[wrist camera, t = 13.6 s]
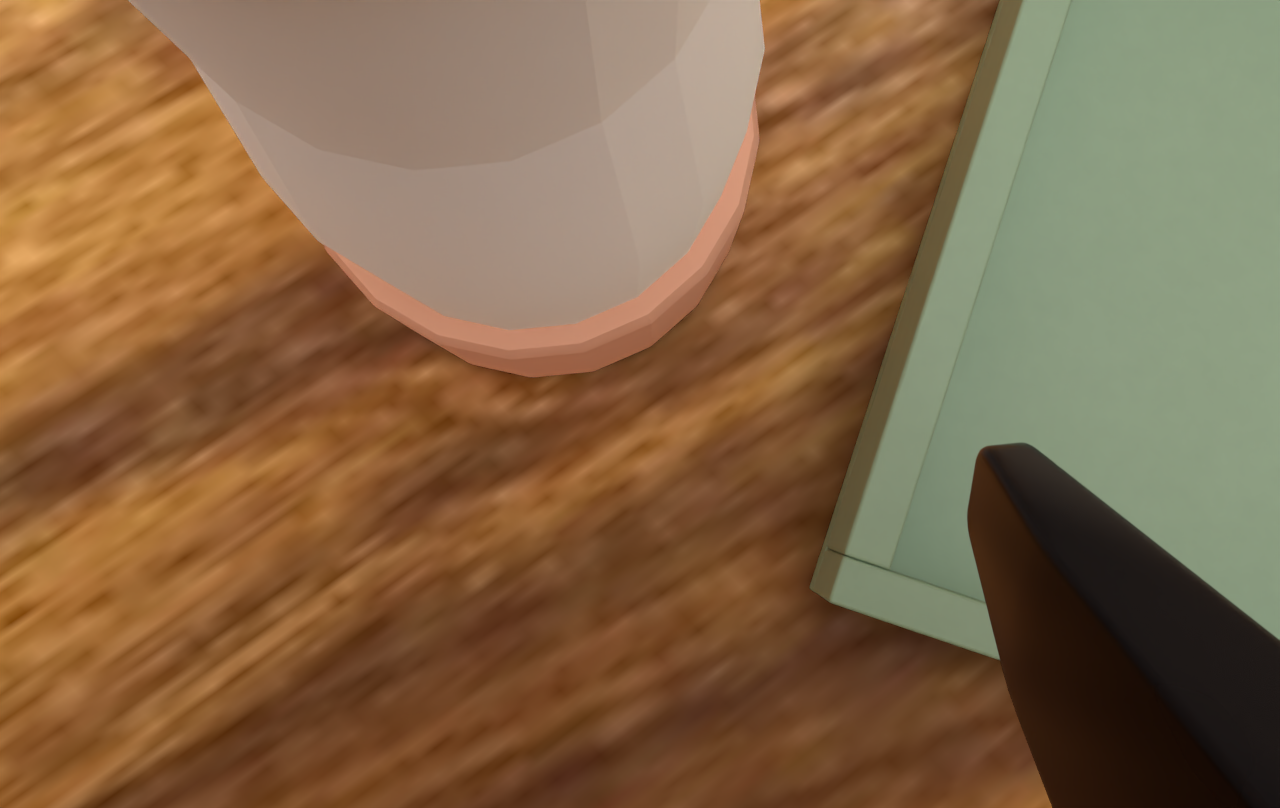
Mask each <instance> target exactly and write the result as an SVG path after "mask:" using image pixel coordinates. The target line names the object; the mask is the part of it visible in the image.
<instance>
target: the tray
mask: <svg viewBox="0 0 1280 808" xmlns="http://www.w3.org/2000/svg"><path fill="white" fill-rule="evenodd" d="M1019 442H1023V443H1028V444H1030V445H1032V446H1034V447H1035V448H1037V449H1038V450H1039V451H1040V452H1042V453H1043V454H1044V455H1045V456H1047V457H1048V458H1049V459H1051V460H1052V461H1053V462H1054V463H1056V464H1057V465H1058V466H1059V467H1061V468H1062V469H1063V470H1065V471H1066V472H1067V473H1068V474H1070V475H1071V476H1072V477H1073V478H1075V479H1076V480H1077V481H1078V482H1080V483H1081V484H1082V485H1084V486H1085V487H1086V488H1087V489H1089V490H1090V491H1091V492H1092V493H1094V494H1095V495H1096V496H1098V497H1099V498H1100V499H1101V500H1103V501H1104V502H1105V503H1106V504H1108V505H1109V506H1110V507H1112V508H1113V509H1114V510H1115V511H1117V512H1118V513H1119V514H1120V515H1122V516H1123V517H1124V518H1125V519H1127V520H1128V521H1129V522H1131V523H1132V524H1133V525H1134V526H1136V527H1137V528H1138V529H1139V530H1141V531H1142V532H1143V533H1145V534H1146V535H1147V536H1148V537H1150V538H1151V539H1152V540H1153V541H1155V542H1156V543H1157V544H1158V545H1160V546H1161V547H1162V548H1164V549H1165V550H1166V551H1167V552H1169V553H1170V554H1171V555H1172V556H1174V557H1175V558H1176V559H1178V560H1179V561H1180V562H1181V563H1183V564H1184V565H1185V566H1186V567H1188V568H1189V569H1190V570H1192V571H1193V572H1194V573H1195V574H1197V575H1198V576H1199V577H1200V578H1202V579H1203V580H1204V581H1205V582H1207V583H1208V584H1209V585H1211V586H1212V587H1213V588H1214V589H1216V590H1217V591H1218V592H1219V593H1221V594H1222V595H1223V596H1225V597H1226V598H1227V599H1228V600H1230V601H1231V602H1232V603H1233V604H1235V605H1236V606H1237V607H1238V608H1240V609H1241V610H1242V611H1244V612H1245V613H1246V614H1247V615H1249V616H1250V617H1251V618H1252V619H1254V620H1255V621H1256V622H1258V623H1259V624H1260V625H1261V626H1263V627H1264V628H1265V629H1266V630H1268V631H1269V632H1270V633H1272V634H1273V635H1274V636H1275V637H1277V638H1278V639H1279V640H1280V0H1000V1H999V4H998V7H997V10H996V13H995V16H994V19H993V22H992V25H991V28H990V32H989V35H988V38H987V41H986V44H985V47H984V50H983V53H982V56H981V59H980V62H979V65H978V69H977V72H976V75H975V78H974V81H973V84H972V87H971V90H970V93H969V96H968V99H967V102H966V106H965V109H964V112H963V115H962V118H961V121H960V124H959V127H958V130H957V133H956V136H955V139H954V143H953V146H952V149H951V152H950V155H949V158H948V161H947V164H946V167H945V170H944V173H943V176H942V180H941V183H940V186H939V189H938V192H937V195H936V198H935V201H934V204H933V207H932V210H931V213H930V217H929V220H928V223H927V226H926V229H925V232H924V235H923V238H922V241H921V244H920V247H919V250H918V254H917V257H916V260H915V263H914V266H913V269H912V272H911V275H910V278H909V281H908V284H907V287H906V291H905V294H904V297H903V300H902V303H901V306H900V309H899V312H898V315H897V318H896V321H895V324H894V328H893V331H892V334H891V337H890V340H889V343H888V346H887V349H886V352H885V355H884V358H883V361H882V365H881V368H880V371H879V374H878V377H877V380H876V383H875V386H874V389H873V392H872V395H871V398H870V402H869V405H868V408H867V411H866V414H865V417H864V420H863V423H862V426H861V429H860V432H859V435H858V439H857V442H856V445H855V448H854V451H853V454H852V457H851V460H850V463H849V466H848V469H847V472H846V476H845V479H844V482H843V485H842V488H841V491H840V494H839V497H838V500H837V503H836V506H835V509H834V513H833V516H832V519H831V522H830V525H829V528H828V531H827V534H826V537H825V540H824V543H823V546H822V550H821V553H820V556H819V559H818V562H817V565H816V568H815V571H814V574H813V577H812V580H811V583H810V589H811V590H812V591H814V592H815V593H817V594H818V595H820V596H821V597H823V598H824V599H826V600H827V601H828V602H830V603H831V604H834V605H837V606H840V607H843V608H846V609H849V610H852V611H855V612H858V613H861V614H864V615H867V616H870V617H873V618H876V619H879V620H882V621H885V622H888V623H891V624H893V625H896V626H899V627H902V628H905V629H908V630H911V631H914V632H917V633H920V634H923V635H926V636H929V637H932V638H935V639H938V640H941V641H944V642H947V643H950V644H953V645H956V646H958V647H961V648H964V649H967V650H970V651H973V652H976V653H979V654H982V655H985V656H988V657H991V658H994V659H997V660H1000V658H999V654H998V650H997V646H996V642H995V638H994V634H993V630H992V626H991V622H990V618H989V614H988V610H987V606H986V602H985V598H984V594H983V590H982V586H981V582H980V578H979V574H978V570H977V566H976V562H975V558H974V554H973V550H972V546H971V542H970V538H969V533H968V526H967V510H968V503H969V497H970V492H971V486H972V480H973V474H974V468H975V462H976V457H977V455H978V453H979V451H980V450H981V449H982V448H983V447H986V446H989V445H999V444H1009V443H1019Z"/></svg>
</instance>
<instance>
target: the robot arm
mask: <svg viewBox="0 0 1280 808" xmlns="http://www.w3.org/2000/svg"><path fill="white" fill-rule="evenodd" d="M967 526H968V533H969V538H970V542H971V546H972V550H973V554H974V558H975V562H976V566H977V570H978V574H979V578H980V582H981V586H982V590H983V594H984V598H985V602H986V606H987V610H988V614H989V618H990V622H991V626H992V630H993V634H994V638H995V642H996V646H997V650H998V654H999V658H1000V662H1001V666H1002V669H1003V673H1004V677H1005V680H1006V684H1007V688H1008V691H1009V694H1010V697H1011V699H1012V702H1013V705H1014V708H1015V711H1016V714H1017V716H1018V719H1019V722H1020V724H1021V727H1022V730H1023V732H1024V735H1025V737H1026V740H1027V743H1028V745H1029V748H1030V750H1031V753H1032V756H1033V758H1034V761H1035V763H1036V766H1037V769H1038V771H1039V774H1040V776H1041V779H1042V782H1043V784H1044V787H1045V790H1046V792H1047V795H1048V797H1049V800H1050V803H1051V805H1052V808H1280V640H1279V639H1278V638H1277V637H1275V636H1274V635H1273V634H1272V633H1270V632H1269V631H1268V630H1266V629H1265V628H1264V627H1263V626H1261V625H1260V624H1259V623H1258V622H1256V621H1255V620H1254V619H1252V618H1251V617H1250V616H1249V615H1247V614H1246V613H1245V612H1244V611H1242V610H1241V609H1240V608H1238V607H1237V606H1236V605H1235V604H1233V603H1232V602H1231V601H1230V600H1228V599H1227V598H1226V597H1225V596H1223V595H1222V594H1221V593H1219V592H1218V591H1217V590H1216V589H1214V588H1213V587H1212V586H1211V585H1209V584H1208V583H1207V582H1205V581H1204V580H1203V579H1202V578H1200V577H1199V576H1198V575H1197V574H1195V573H1194V572H1193V571H1192V570H1190V569H1189V568H1188V567H1186V566H1185V565H1184V564H1183V563H1181V562H1180V561H1179V560H1178V559H1176V558H1175V557H1174V556H1172V555H1171V554H1170V553H1169V552H1167V551H1166V550H1165V549H1164V548H1162V547H1161V546H1160V545H1158V544H1157V543H1156V542H1155V541H1153V540H1152V539H1151V538H1150V537H1148V536H1147V535H1146V534H1145V533H1143V532H1142V531H1141V530H1139V529H1138V528H1137V527H1136V526H1134V525H1133V524H1132V523H1131V522H1129V521H1128V520H1127V519H1125V518H1124V517H1123V516H1122V515H1120V514H1119V513H1118V512H1117V511H1115V510H1114V509H1113V508H1112V507H1110V506H1109V505H1108V504H1106V503H1105V502H1104V501H1103V500H1101V499H1100V498H1099V497H1098V496H1096V495H1095V494H1094V493H1092V492H1091V491H1090V490H1089V489H1087V488H1086V487H1085V486H1084V485H1082V484H1081V483H1080V482H1078V481H1077V480H1076V479H1075V478H1073V477H1072V476H1071V475H1070V474H1068V473H1067V472H1066V471H1065V470H1063V469H1062V468H1061V467H1059V466H1058V465H1057V464H1056V463H1054V462H1053V461H1052V460H1051V459H1049V458H1048V457H1047V456H1045V455H1044V454H1043V453H1042V452H1040V451H1039V450H1038V449H1037V448H1035V447H1034V446H1032V445H1030V444H1028V443H1023V442H1019V443H1009V444H999V445H989V446H986V447H983V448H982V449H981V450H980V451H979V453H978V455H977V457H976V462H975V468H974V474H973V480H972V486H971V492H970V497H969V503H968V510H967Z"/></svg>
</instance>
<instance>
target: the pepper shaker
mask: <svg viewBox="0 0 1280 808" xmlns="http://www.w3.org/2000/svg"><path fill="white" fill-rule="evenodd" d="M128 1H129V2H130V3H131V4H132V5H133V6H135V7H136V8H137V9H138V10H139V11H140V12H141V13H142V14H143V15H144V16H145V17H146V18H147V19H148V20H149V21H151V22H152V23H153V24H154V25H155V26H156V27H157V28H158V29H159V30H160V31H161V32H162V33H163V34H164V35H165V36H166V37H168V38H169V39H170V40H171V41H172V42H173V43H174V44H175V45H176V46H177V47H178V48H179V49H180V50H181V51H182V52H183V53H185V54H186V55H187V56H188V57H189V58H190V59H191V61H192V63H193V64H194V66H195V68H196V69H197V71H198V73H199V74H200V76H201V78H202V79H203V81H204V82H205V84H206V86H207V87H208V89H209V91H210V92H211V94H212V96H213V97H214V99H215V101H216V102H217V104H218V106H219V107H220V109H221V111H222V112H223V114H224V115H225V117H226V119H227V120H228V122H229V124H230V125H231V127H232V129H233V130H234V132H235V134H236V135H237V137H238V139H239V140H240V142H241V143H242V145H243V147H244V148H245V150H246V152H247V153H248V155H249V157H250V158H251V160H252V162H253V163H254V165H255V167H256V168H257V170H258V171H259V173H260V175H261V176H262V178H263V179H264V180H265V181H266V183H267V184H268V185H269V186H270V187H271V188H272V189H273V191H274V192H275V193H276V194H277V195H278V196H279V197H280V198H281V200H282V201H283V202H284V203H285V204H286V205H287V206H288V208H289V209H290V210H291V211H292V212H293V213H294V214H295V216H296V217H297V218H298V219H299V220H300V221H301V222H302V224H303V225H304V226H305V227H306V228H307V229H308V230H309V232H310V233H311V234H312V235H313V236H314V237H315V238H316V240H317V241H319V242H320V243H322V244H323V245H324V247H325V250H326V252H327V253H328V254H329V255H330V256H331V257H332V258H333V260H334V261H335V262H336V263H337V264H338V265H339V266H340V268H341V269H342V270H343V271H344V272H345V273H346V274H347V276H348V277H349V278H350V279H351V280H352V281H353V282H354V284H355V285H356V286H357V287H358V288H359V289H360V290H361V292H362V293H363V294H364V295H365V296H366V297H367V298H368V300H369V301H370V302H371V303H372V304H373V305H374V306H375V307H377V308H378V309H380V310H381V311H383V312H385V313H386V314H388V315H389V316H391V317H393V318H394V319H396V320H397V321H399V322H401V323H402V324H404V325H405V326H407V327H409V328H410V329H412V330H414V331H415V332H417V333H418V334H420V335H422V336H424V337H425V338H427V339H429V340H430V341H432V342H434V343H435V344H437V345H439V346H440V347H442V348H444V349H446V350H447V351H449V352H451V353H452V354H454V355H456V356H457V357H459V358H461V359H463V360H464V361H466V362H468V363H469V364H472V365H476V366H481V367H485V368H490V369H495V370H499V371H504V372H508V373H513V374H517V375H522V376H526V377H531V378H533V377H543V376H553V375H563V374H574V373H584V372H594V371H596V370H598V369H601V368H603V367H605V366H608V365H610V364H612V363H614V362H617V361H619V360H621V359H624V358H626V357H628V356H631V355H633V354H635V353H637V352H640V351H642V350H644V349H647V348H649V347H651V346H652V345H653V344H654V343H656V342H657V341H658V340H659V339H660V338H661V337H662V336H664V335H665V334H666V333H667V332H668V331H669V330H670V329H671V328H673V327H674V326H675V325H676V324H677V323H678V322H679V321H681V320H682V319H683V318H684V317H685V316H686V315H687V314H688V313H690V312H691V311H692V310H693V309H694V308H695V307H696V306H697V305H698V304H699V302H700V300H701V299H702V297H703V295H704V294H705V292H706V290H707V288H708V287H709V285H710V283H711V282H712V280H713V278H714V277H715V275H716V273H717V271H718V270H719V268H720V266H721V265H722V263H723V261H724V260H725V258H726V256H727V254H728V253H729V250H730V248H731V245H732V242H733V240H734V237H735V234H736V232H737V229H738V226H739V224H740V221H741V218H742V216H743V213H744V210H745V205H746V201H747V196H748V191H749V187H750V182H751V178H752V173H753V168H754V164H755V159H756V155H757V150H758V146H759V141H760V138H759V129H758V119H757V110H756V100H755V92H756V87H757V83H758V78H759V74H760V69H761V64H762V60H763V55H764V51H765V46H764V37H763V28H762V18H761V9H760V0H128Z"/></svg>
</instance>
